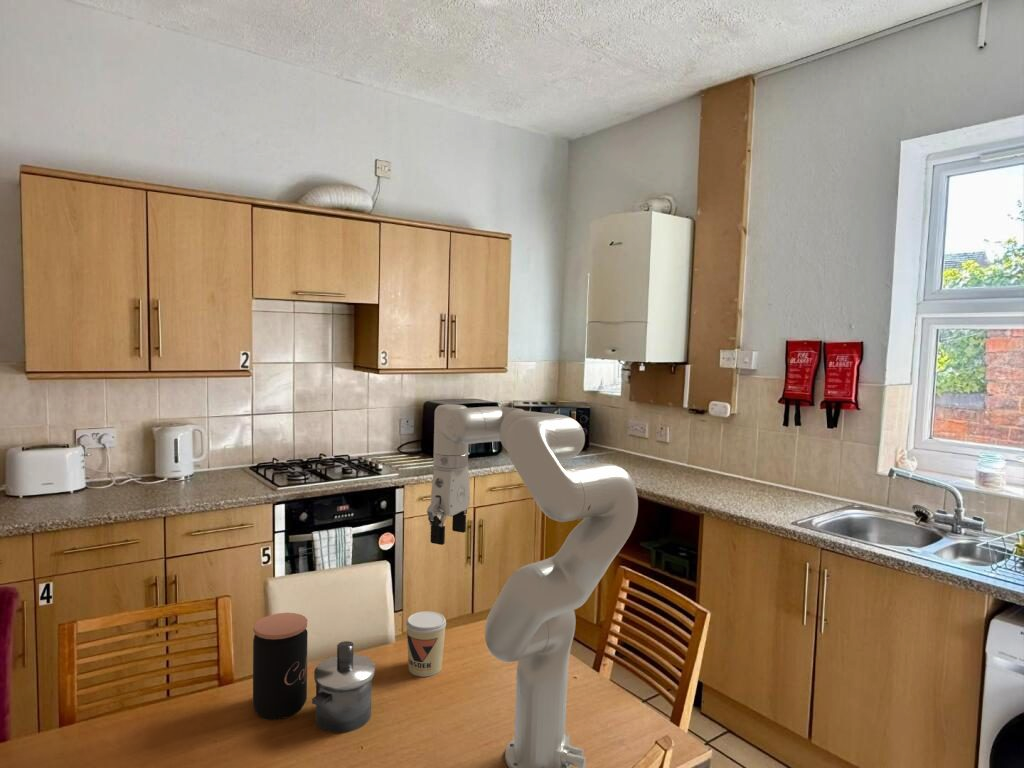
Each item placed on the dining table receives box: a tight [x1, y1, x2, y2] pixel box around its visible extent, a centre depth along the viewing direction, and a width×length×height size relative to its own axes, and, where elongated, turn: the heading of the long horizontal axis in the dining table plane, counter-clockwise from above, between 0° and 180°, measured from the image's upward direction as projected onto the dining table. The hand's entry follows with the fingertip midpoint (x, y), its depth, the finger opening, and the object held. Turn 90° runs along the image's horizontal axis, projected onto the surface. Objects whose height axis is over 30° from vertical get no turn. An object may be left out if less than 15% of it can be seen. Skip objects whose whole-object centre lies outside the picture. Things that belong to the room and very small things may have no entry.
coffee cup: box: [405, 610, 447, 678], centre depth 151 cm, size 9×9×12 cm
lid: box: [313, 640, 376, 691], centre depth 131 cm, size 12×12×6 cm
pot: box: [311, 678, 373, 734], centre depth 131 cm, size 12×17×9 cm
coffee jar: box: [252, 612, 308, 721], centre depth 134 cm, size 11×11×18 cm
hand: (448, 537), depth 141 cm, fingers open, 9 cm apart
